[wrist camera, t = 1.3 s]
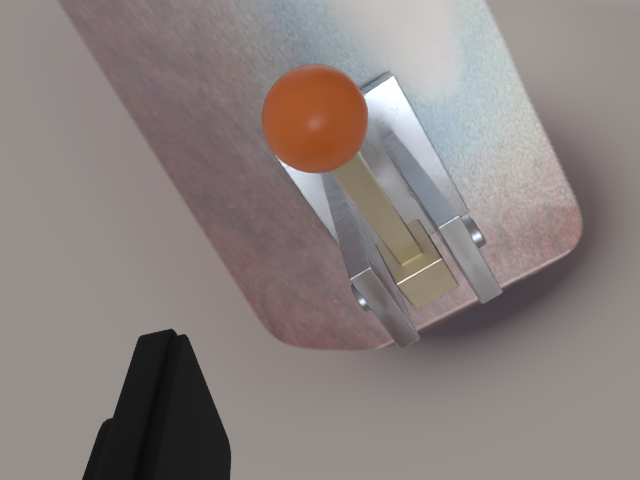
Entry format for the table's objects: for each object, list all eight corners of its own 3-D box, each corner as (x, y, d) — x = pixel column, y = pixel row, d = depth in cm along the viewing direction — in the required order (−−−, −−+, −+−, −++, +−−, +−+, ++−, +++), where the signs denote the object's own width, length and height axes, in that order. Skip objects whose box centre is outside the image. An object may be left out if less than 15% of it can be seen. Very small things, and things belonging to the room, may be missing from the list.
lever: (230, 84, 17) (255, 149, 15) (320, 23, 16) (359, 82, 14) (383, 269, 27) (410, 323, 25) (441, 235, 26) (474, 287, 24)
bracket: (272, 147, 33) (278, 248, 21) (389, 70, 31) (463, 134, 20) (357, 267, 37) (401, 404, 25) (463, 204, 35) (559, 320, 24)
